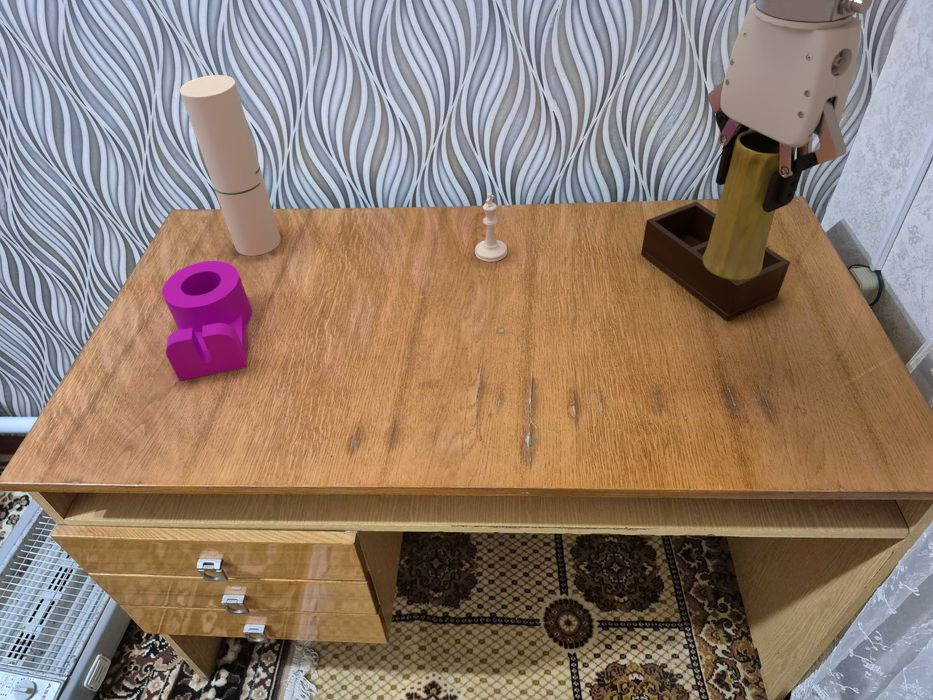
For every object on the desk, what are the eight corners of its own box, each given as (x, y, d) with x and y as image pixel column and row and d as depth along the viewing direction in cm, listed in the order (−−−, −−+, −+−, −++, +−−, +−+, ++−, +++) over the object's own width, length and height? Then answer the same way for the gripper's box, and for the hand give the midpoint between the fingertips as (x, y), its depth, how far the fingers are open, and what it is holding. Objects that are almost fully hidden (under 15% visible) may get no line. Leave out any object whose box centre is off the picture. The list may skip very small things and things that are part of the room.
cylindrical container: (286, 230, 107) (242, 74, 90) (272, 256, 102) (223, 97, 84) (244, 229, 108) (192, 75, 90) (228, 255, 103) (170, 97, 85)
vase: (749, 288, 69) (789, 163, 59) (693, 269, 71) (721, 146, 62) (769, 259, 72) (809, 135, 62) (714, 241, 75) (744, 121, 65)
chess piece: (469, 257, 99) (465, 199, 92) (483, 239, 102) (481, 182, 95) (498, 265, 97) (497, 206, 90) (512, 247, 101) (512, 189, 94)
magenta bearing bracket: (181, 303, 95) (165, 268, 90) (251, 290, 96) (239, 255, 92) (173, 381, 83) (154, 346, 79) (252, 366, 85) (238, 330, 80)
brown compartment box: (688, 235, 101) (696, 201, 96) (777, 298, 89) (790, 262, 85) (640, 254, 98) (646, 219, 94) (726, 321, 86) (737, 285, 82)
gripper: (938, 12, 49) (851, 221, 61) (758, -37, 60) (716, 149, 72) (869, 35, 46) (794, 247, 59) (696, -21, 57) (663, 169, 70)
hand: (751, 191), depth 66 cm, fingers closed on vase, 5 cm apart
